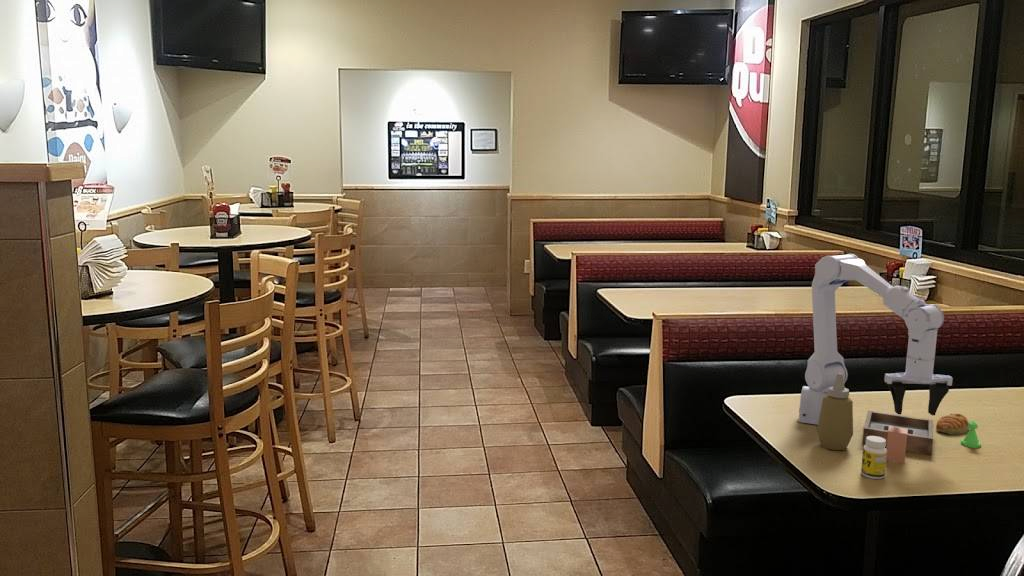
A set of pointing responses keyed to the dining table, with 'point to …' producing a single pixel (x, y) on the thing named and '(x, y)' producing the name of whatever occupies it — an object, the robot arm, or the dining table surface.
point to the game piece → (971, 436)
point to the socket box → (917, 427)
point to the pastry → (953, 424)
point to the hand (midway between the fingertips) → (914, 413)
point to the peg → (896, 444)
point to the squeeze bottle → (836, 417)
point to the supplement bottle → (874, 457)
